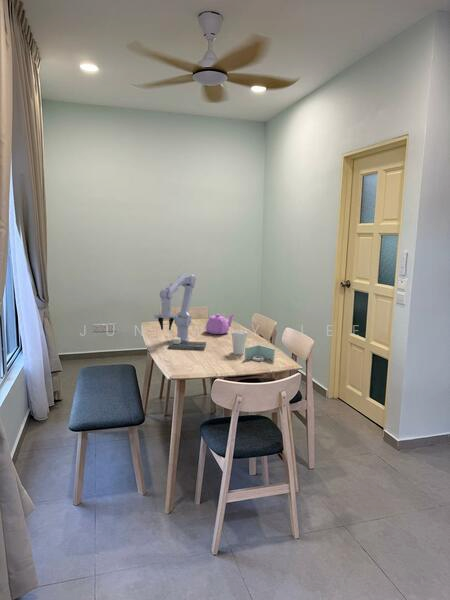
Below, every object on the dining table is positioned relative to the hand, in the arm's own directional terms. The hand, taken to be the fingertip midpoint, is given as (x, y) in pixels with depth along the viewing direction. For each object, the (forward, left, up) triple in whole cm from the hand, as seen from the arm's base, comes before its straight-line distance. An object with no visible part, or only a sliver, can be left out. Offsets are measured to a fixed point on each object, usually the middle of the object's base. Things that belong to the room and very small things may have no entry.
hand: (165, 329), depth 257 cm
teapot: (-44, +32, -11) cm, 55 cm away
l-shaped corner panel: (+22, +58, -11) cm, 63 cm away
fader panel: (0, +14, -10) cm, 17 cm away
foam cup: (+8, +46, -11) cm, 48 cm away
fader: (0, +7, -8) cm, 11 cm away
